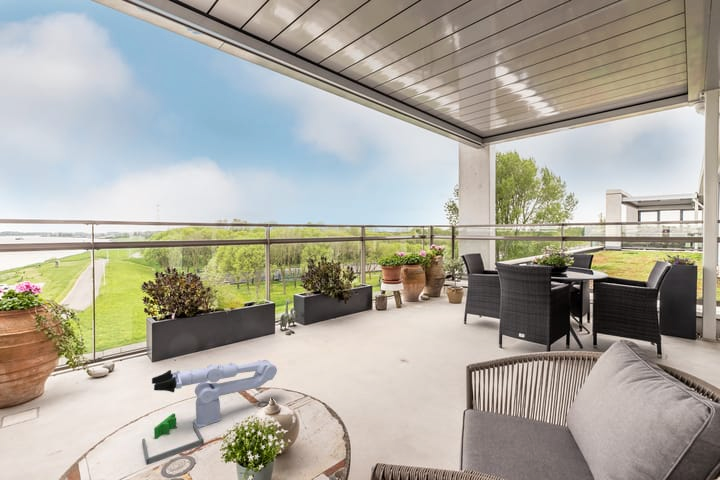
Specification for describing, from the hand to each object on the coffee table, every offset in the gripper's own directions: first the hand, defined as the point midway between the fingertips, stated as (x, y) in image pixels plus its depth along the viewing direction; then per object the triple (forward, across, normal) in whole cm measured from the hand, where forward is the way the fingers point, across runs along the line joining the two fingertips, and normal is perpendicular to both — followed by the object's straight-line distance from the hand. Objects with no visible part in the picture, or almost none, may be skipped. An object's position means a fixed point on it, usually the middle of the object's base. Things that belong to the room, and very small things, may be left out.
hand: (153, 384), depth 136 cm
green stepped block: (-7, -2, +22) cm, 23 cm away
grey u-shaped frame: (-7, +9, +21) cm, 24 cm away
